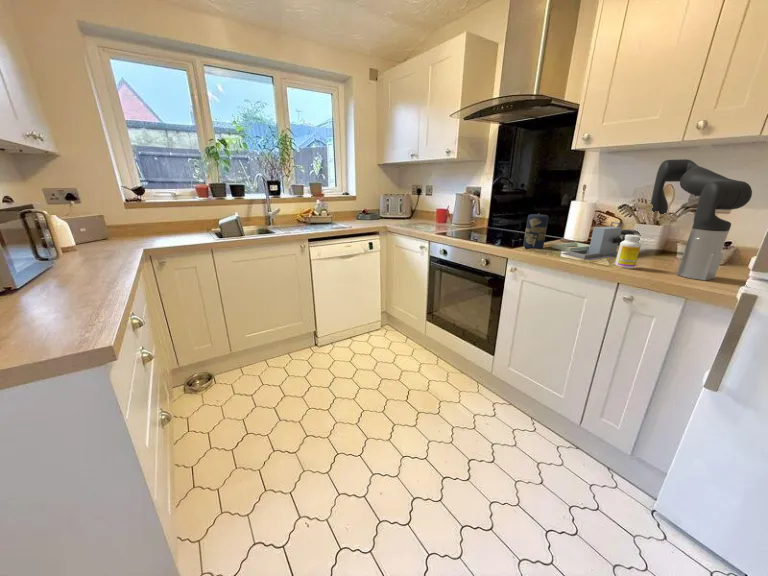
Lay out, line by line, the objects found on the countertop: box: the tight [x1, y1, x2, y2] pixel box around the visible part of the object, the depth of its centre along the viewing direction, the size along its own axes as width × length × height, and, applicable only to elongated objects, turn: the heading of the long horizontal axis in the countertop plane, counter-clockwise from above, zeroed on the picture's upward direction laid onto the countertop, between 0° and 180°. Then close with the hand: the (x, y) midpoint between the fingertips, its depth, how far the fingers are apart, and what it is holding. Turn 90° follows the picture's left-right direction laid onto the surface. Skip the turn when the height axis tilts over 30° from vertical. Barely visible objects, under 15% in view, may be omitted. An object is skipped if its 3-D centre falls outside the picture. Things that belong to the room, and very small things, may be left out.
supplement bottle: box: [614, 235, 642, 270], centre depth 124 cm, size 7×7×13 cm
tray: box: [552, 241, 590, 252], centre depth 156 cm, size 10×17×2 cm, turn 112°
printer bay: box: [560, 249, 618, 261], centre depth 144 cm, size 14×27×2 cm, turn 112°
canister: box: [522, 212, 550, 250], centre depth 157 cm, size 10×10×18 cm
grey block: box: [588, 221, 623, 255], centre depth 144 cm, size 5×12×14 cm, turn 112°
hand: (604, 239), depth 144 cm, fingers open, 8 cm apart
